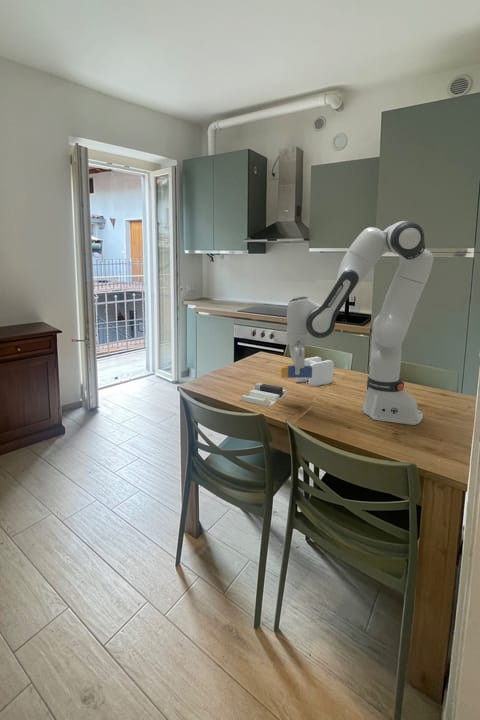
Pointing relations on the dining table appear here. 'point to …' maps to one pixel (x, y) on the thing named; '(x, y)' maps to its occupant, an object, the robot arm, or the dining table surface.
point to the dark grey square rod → (269, 389)
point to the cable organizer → (319, 371)
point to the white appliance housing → (262, 397)
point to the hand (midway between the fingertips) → (296, 372)
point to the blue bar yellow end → (290, 372)
